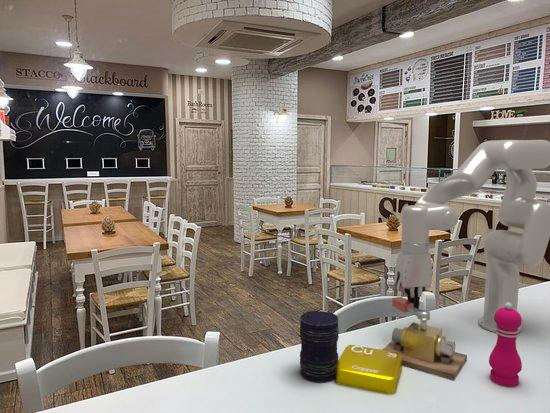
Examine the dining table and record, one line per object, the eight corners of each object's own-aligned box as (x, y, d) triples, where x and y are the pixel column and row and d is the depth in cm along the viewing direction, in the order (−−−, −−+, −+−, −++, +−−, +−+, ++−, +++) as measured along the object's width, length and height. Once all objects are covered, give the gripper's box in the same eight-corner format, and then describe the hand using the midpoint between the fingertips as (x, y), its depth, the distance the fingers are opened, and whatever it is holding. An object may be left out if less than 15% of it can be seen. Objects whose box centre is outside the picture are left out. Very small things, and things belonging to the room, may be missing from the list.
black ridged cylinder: (341, 367, 114) (342, 313, 113) (334, 386, 105) (334, 327, 103) (305, 361, 118) (305, 309, 116) (295, 379, 108) (295, 322, 106)
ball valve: (398, 342, 126) (399, 309, 124) (456, 357, 116) (458, 321, 115) (389, 351, 120) (390, 316, 119) (449, 367, 111) (450, 330, 109)
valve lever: (432, 321, 116) (432, 312, 116) (422, 323, 115) (422, 314, 115) (401, 304, 129) (401, 296, 129) (391, 305, 128) (392, 297, 128)
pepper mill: (525, 389, 103) (530, 308, 100) (492, 386, 104) (497, 306, 102) (515, 374, 110) (519, 298, 108) (484, 371, 111) (488, 296, 109)
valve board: (395, 341, 129) (395, 337, 129) (466, 360, 117) (467, 355, 117) (378, 358, 119) (378, 353, 119) (454, 380, 107) (454, 374, 107)
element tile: (332, 384, 107) (333, 366, 106) (347, 358, 120) (347, 341, 120) (395, 397, 101) (395, 378, 100) (402, 368, 114) (403, 350, 114)
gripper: (429, 243, 130) (427, 302, 133) (384, 247, 127) (384, 307, 129) (445, 249, 123) (443, 310, 126) (398, 252, 119) (397, 316, 122)
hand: (413, 308), depth 127 cm, fingers closed
